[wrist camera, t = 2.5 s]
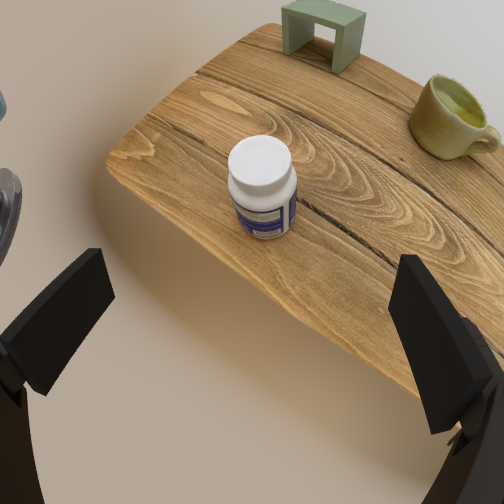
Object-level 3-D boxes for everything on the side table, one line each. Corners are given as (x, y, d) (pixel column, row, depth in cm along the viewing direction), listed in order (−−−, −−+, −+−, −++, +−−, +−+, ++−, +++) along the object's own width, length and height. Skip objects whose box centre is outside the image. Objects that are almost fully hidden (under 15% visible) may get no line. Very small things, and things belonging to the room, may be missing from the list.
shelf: (282, 53, 39) (281, 7, 30) (308, 36, 40) (308, -6, 31) (338, 74, 36) (344, 26, 27) (359, 56, 37) (366, 12, 29)
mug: (386, 122, 30) (433, 68, 21) (409, 107, 35) (447, 65, 26) (451, 197, 29) (507, 155, 20) (463, 168, 33) (506, 133, 25)
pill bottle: (265, 181, 31) (259, 118, 22) (306, 213, 30) (315, 156, 20) (227, 217, 30) (205, 162, 21) (267, 252, 29) (261, 207, 19)
